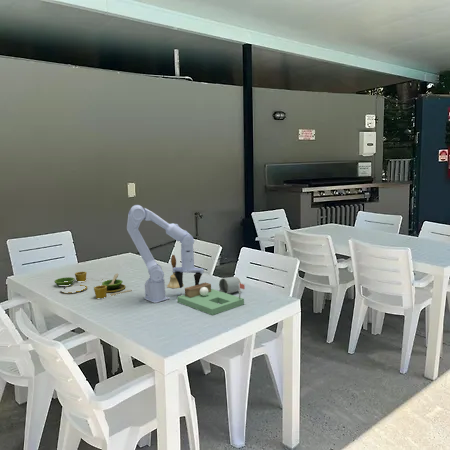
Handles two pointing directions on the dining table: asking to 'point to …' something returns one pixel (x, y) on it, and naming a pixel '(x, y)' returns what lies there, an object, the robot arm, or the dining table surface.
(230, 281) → the ceramic mug
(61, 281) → the tableware set
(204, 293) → the golf ball
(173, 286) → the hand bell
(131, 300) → the dining table surface
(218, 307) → the putting deck
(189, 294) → the block
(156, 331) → the dining table surface
